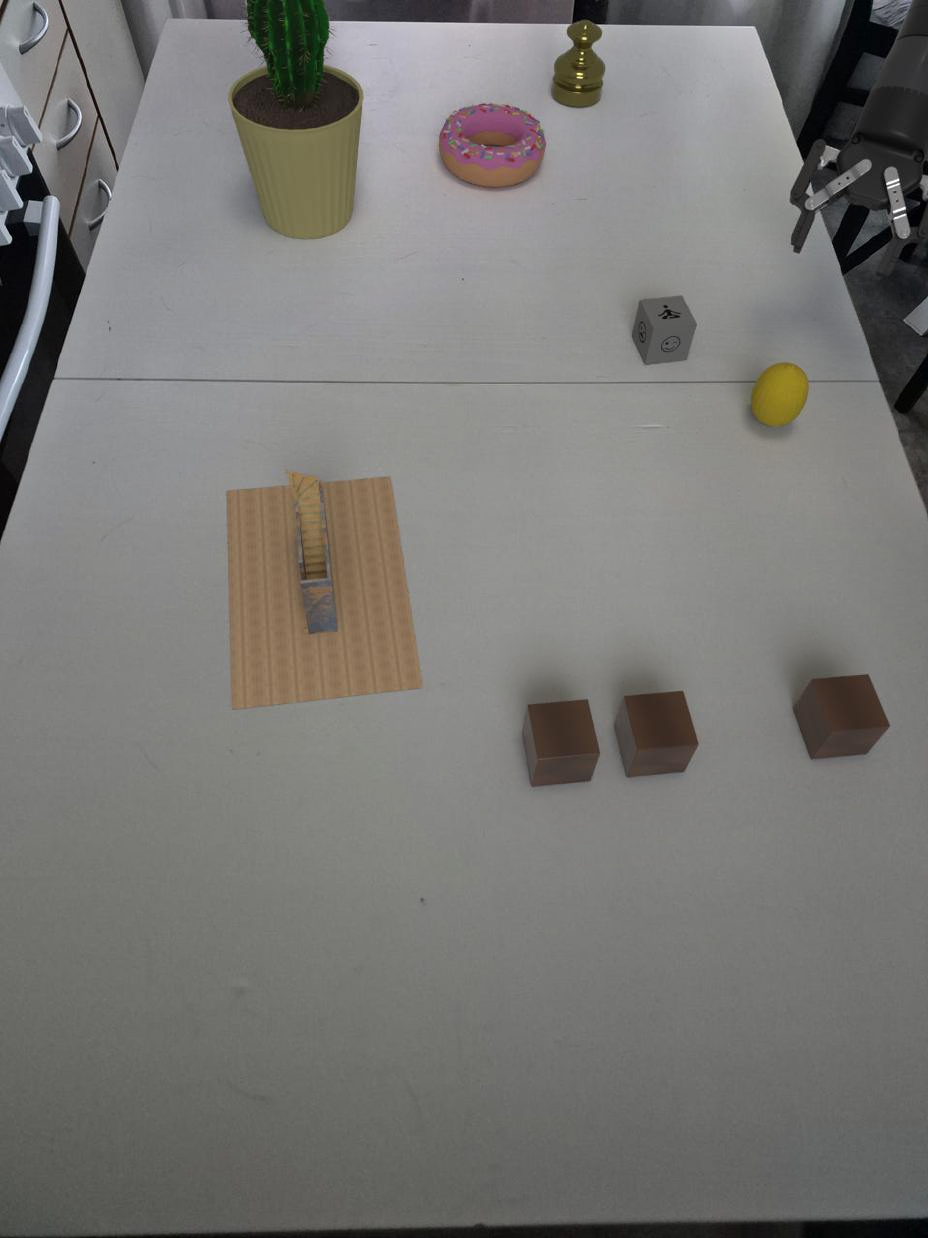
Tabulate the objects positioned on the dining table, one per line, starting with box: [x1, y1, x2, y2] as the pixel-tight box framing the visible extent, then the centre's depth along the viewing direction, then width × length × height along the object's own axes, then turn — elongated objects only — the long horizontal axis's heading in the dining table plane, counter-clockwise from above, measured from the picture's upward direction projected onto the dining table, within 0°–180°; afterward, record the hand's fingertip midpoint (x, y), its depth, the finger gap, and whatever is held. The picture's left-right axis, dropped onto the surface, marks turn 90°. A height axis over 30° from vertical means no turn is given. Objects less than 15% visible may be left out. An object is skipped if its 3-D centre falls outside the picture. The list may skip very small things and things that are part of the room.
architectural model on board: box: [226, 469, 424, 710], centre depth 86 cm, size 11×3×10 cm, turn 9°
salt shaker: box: [551, 19, 606, 108], centre depth 138 cm, size 7×7×10 cm
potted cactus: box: [227, 0, 365, 240], centre depth 110 cm, size 15×15×30 cm
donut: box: [438, 102, 547, 188], centre depth 129 cm, size 14×14×5 cm
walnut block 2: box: [613, 690, 700, 778], centre depth 79 cm, size 5×5×5 cm
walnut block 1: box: [521, 698, 601, 788], centre depth 79 cm, size 5×5×5 cm
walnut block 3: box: [792, 673, 891, 760], centre depth 81 cm, size 5×5×5 cm
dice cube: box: [631, 295, 698, 366], centre depth 109 cm, size 5×5×5 cm
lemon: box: [750, 361, 810, 427], centre depth 101 cm, size 6×6×8 cm
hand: (836, 264), depth 98 cm, fingers open, 8 cm apart
